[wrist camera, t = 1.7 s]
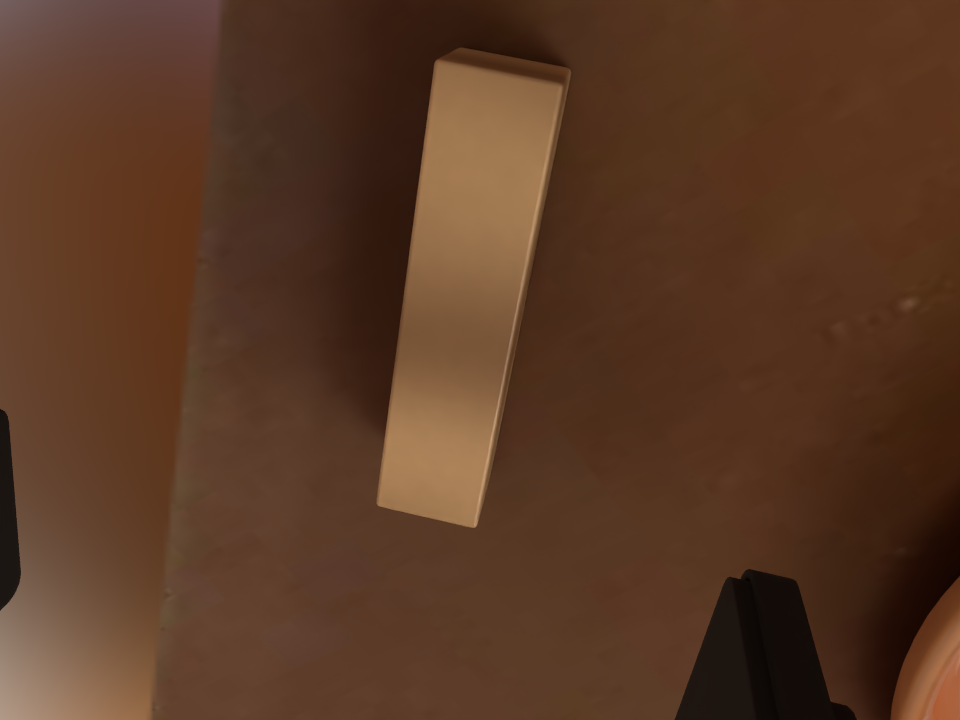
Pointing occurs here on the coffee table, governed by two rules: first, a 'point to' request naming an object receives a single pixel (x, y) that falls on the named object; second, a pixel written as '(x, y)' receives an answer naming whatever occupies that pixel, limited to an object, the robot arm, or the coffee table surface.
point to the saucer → (932, 666)
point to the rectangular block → (468, 277)
